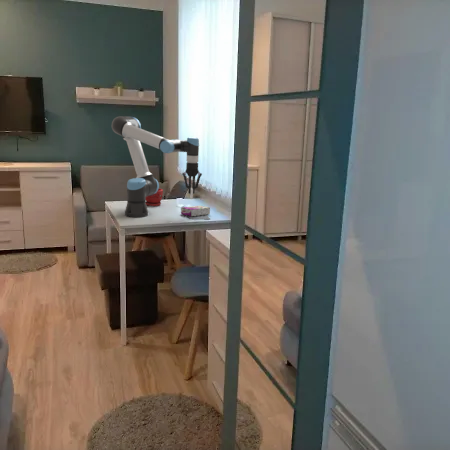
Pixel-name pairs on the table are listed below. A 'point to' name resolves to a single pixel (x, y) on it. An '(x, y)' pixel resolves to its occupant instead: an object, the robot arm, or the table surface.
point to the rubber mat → (199, 217)
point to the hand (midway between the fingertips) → (191, 198)
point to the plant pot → (154, 198)
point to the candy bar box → (195, 210)
